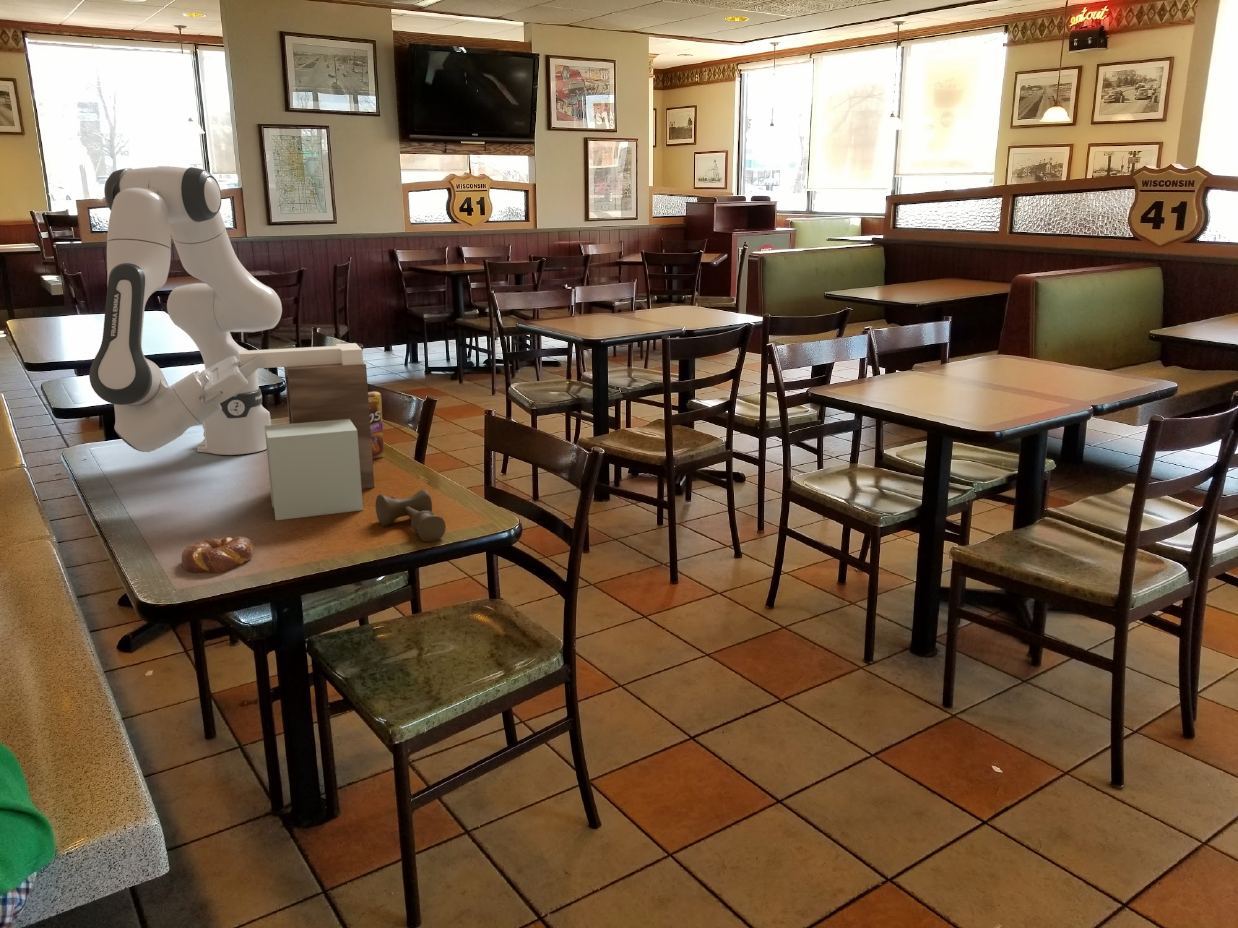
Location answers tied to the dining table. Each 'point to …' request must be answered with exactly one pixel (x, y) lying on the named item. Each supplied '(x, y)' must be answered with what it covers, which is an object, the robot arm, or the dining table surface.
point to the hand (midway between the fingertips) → (262, 356)
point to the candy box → (376, 424)
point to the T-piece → (306, 356)
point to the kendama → (412, 514)
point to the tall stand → (333, 403)
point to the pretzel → (217, 554)
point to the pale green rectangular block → (314, 468)
